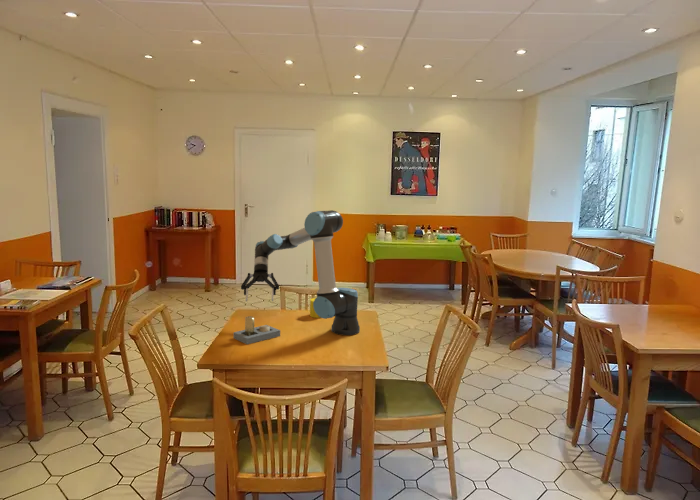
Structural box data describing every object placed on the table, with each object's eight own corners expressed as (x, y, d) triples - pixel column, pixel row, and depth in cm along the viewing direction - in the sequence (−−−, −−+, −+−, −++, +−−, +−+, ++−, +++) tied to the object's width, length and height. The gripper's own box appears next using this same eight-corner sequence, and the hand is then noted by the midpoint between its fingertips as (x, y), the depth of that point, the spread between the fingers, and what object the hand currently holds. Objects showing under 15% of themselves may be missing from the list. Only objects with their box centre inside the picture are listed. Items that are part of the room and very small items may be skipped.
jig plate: (280, 336, 259) (280, 330, 258) (247, 344, 245) (247, 338, 244) (266, 330, 267) (266, 324, 267) (233, 338, 253) (233, 332, 253)
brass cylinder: (256, 339, 253) (256, 317, 251) (248, 341, 250) (248, 319, 248) (250, 336, 256) (251, 315, 254) (243, 338, 253) (243, 317, 251)
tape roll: (317, 312, 304) (317, 296, 303) (330, 315, 299) (330, 299, 297) (306, 315, 296) (306, 300, 295) (319, 319, 291) (320, 303, 289)
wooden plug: (271, 335, 259) (271, 327, 258) (263, 337, 255) (263, 329, 255) (265, 332, 263) (265, 324, 262) (257, 334, 259) (257, 326, 258)
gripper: (283, 270, 285) (283, 303, 273) (238, 270, 282) (236, 303, 270) (283, 262, 279) (283, 296, 267) (237, 262, 276) (234, 296, 264)
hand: (259, 300), depth 268 cm, fingers open, 13 cm apart
